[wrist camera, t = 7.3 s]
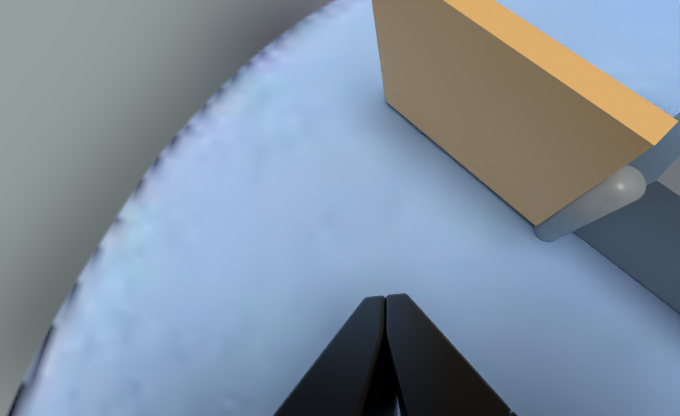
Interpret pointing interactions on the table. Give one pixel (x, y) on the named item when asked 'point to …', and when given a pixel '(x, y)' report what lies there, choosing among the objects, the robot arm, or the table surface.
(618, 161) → the door
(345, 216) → the table surface
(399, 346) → the robot arm
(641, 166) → the block
